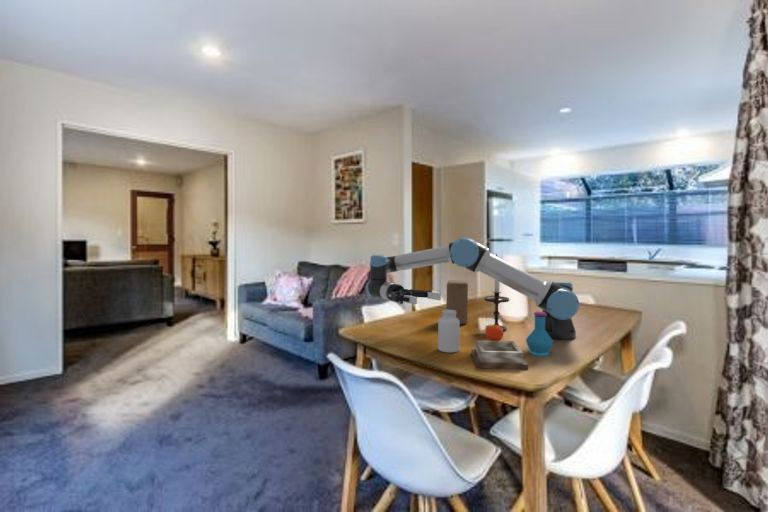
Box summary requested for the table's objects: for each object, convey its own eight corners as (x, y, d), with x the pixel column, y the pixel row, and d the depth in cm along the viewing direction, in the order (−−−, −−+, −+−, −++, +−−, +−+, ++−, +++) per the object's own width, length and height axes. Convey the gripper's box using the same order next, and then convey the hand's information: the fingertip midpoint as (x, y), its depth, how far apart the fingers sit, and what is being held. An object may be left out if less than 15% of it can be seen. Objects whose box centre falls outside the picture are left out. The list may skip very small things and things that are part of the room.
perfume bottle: (550, 358, 139) (551, 316, 138) (523, 354, 143) (524, 313, 142) (554, 351, 146) (555, 311, 145) (528, 347, 151) (529, 309, 150)
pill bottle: (461, 353, 145) (461, 312, 144) (439, 353, 145) (439, 312, 144) (457, 346, 152) (457, 308, 152) (436, 346, 153) (436, 308, 152)
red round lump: (479, 341, 160) (480, 324, 160) (488, 337, 165) (488, 321, 165) (498, 345, 155) (498, 327, 154) (506, 341, 160) (506, 324, 159)
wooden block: (467, 324, 189) (467, 283, 188) (446, 323, 191) (446, 282, 190) (467, 319, 199) (467, 280, 197) (447, 319, 201) (447, 280, 199)
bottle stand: (515, 353, 144) (515, 340, 143) (528, 369, 128) (528, 354, 127) (471, 352, 145) (471, 339, 145) (478, 367, 129) (478, 352, 129)
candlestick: (485, 331, 175) (486, 253, 173) (483, 326, 186) (484, 252, 183) (510, 332, 173) (511, 253, 171) (506, 326, 184) (508, 252, 182)
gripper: (413, 297, 179) (449, 304, 163) (370, 304, 163) (405, 312, 147) (413, 281, 179) (449, 286, 163) (370, 286, 163) (405, 292, 147)
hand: (428, 298), depth 155 cm, fingers open, 13 cm apart
